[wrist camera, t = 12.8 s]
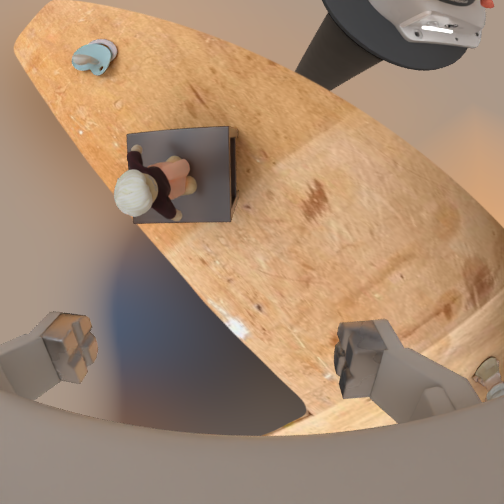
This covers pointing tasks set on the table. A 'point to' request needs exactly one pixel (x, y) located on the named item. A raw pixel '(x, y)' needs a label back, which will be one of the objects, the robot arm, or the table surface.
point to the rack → (195, 170)
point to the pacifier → (94, 56)
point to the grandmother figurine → (153, 186)
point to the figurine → (490, 378)
